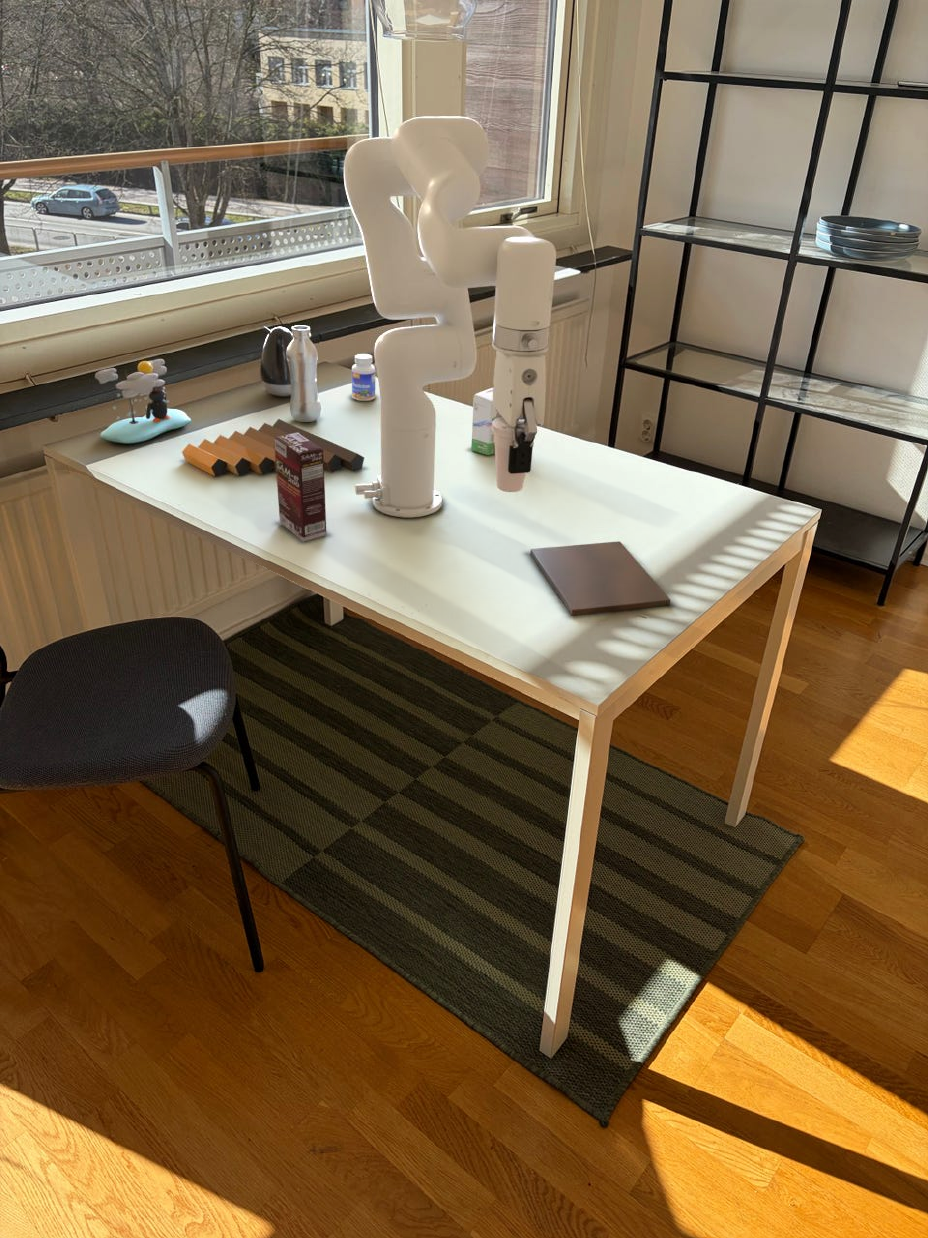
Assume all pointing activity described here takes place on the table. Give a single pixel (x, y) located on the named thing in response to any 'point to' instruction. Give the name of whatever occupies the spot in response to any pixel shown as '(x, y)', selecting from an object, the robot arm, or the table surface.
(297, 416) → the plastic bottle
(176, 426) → the penguin figurine
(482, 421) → the ink box
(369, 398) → the pill bottle
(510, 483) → the smoothie
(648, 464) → the table surface
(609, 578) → the walnut board
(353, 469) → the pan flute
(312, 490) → the supplement box
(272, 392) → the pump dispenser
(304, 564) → the table surface
